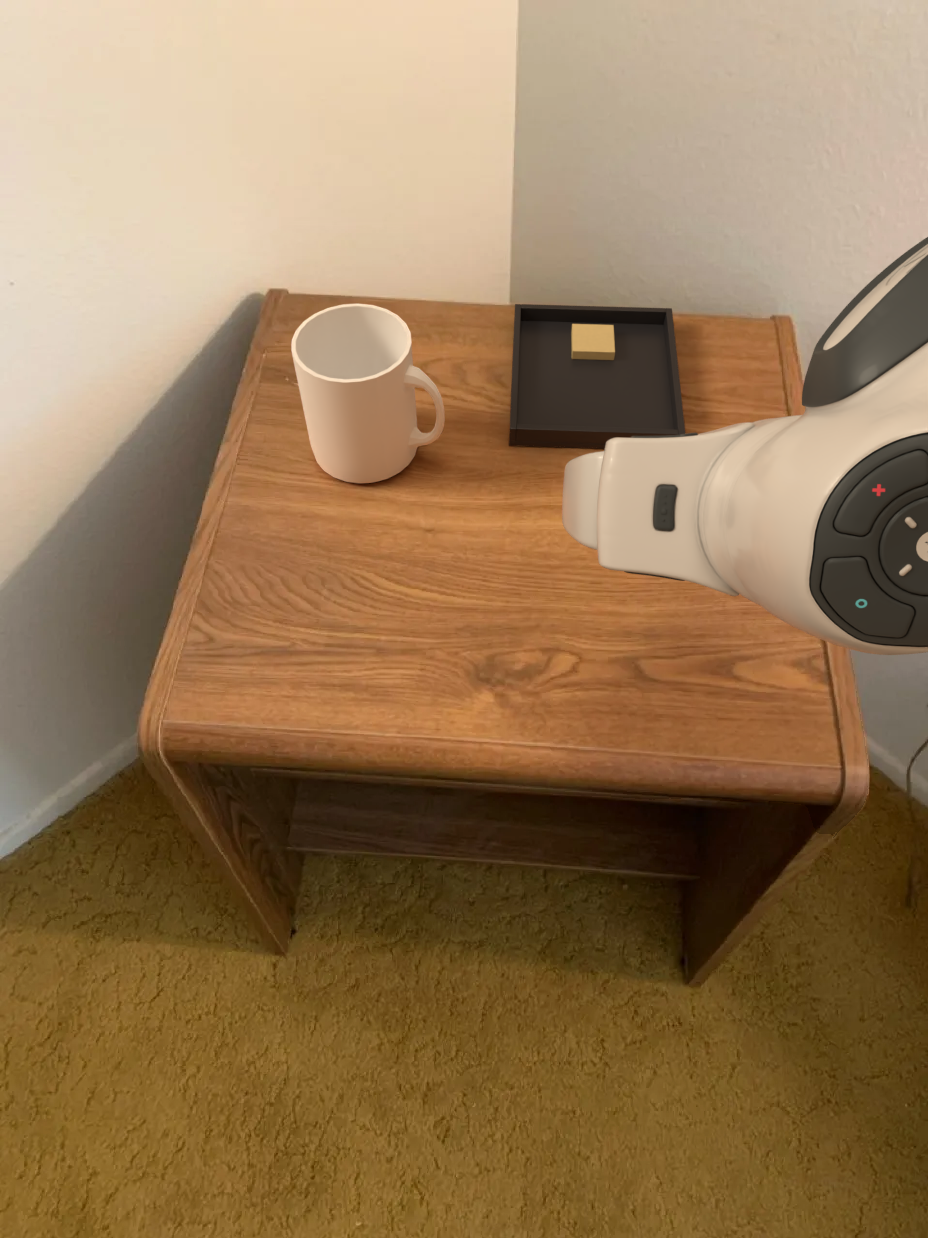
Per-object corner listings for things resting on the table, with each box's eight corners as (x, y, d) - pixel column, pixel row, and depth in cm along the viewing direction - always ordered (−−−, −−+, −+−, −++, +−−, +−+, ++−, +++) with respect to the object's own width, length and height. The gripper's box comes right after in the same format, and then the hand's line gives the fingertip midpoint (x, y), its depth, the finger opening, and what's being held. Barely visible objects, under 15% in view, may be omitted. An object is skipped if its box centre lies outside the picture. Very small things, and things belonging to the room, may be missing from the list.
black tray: (668, 325, 91) (672, 307, 89) (681, 451, 81) (685, 434, 80) (514, 321, 92) (514, 303, 90) (508, 445, 82) (509, 428, 80)
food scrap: (612, 333, 90) (613, 324, 89) (613, 360, 87) (615, 352, 87) (571, 331, 90) (572, 323, 89) (571, 359, 88) (572, 350, 87)
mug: (320, 409, 85) (300, 302, 75) (450, 413, 84) (447, 305, 75) (305, 486, 80) (282, 381, 70) (444, 490, 79) (440, 384, 69)
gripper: (1017, 451, 43) (895, 450, 57) (576, 435, 44) (560, 438, 57) (997, 585, 44) (882, 553, 58) (568, 568, 45) (554, 540, 59)
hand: (719, 496), depth 58 cm, fingers closed on scrub brush, 3 cm apart
